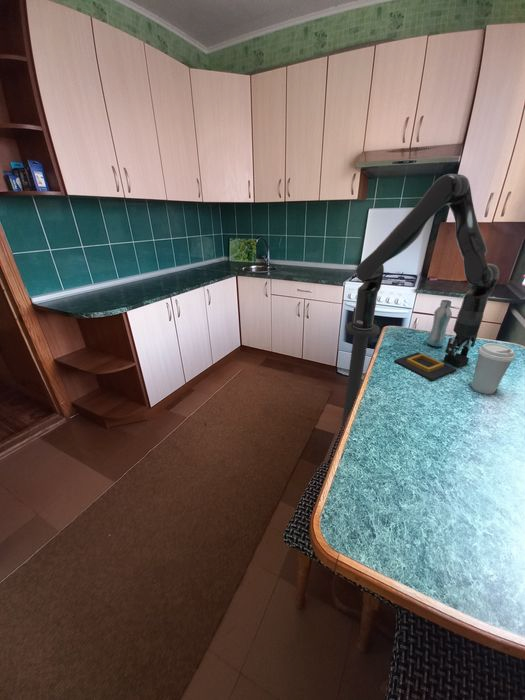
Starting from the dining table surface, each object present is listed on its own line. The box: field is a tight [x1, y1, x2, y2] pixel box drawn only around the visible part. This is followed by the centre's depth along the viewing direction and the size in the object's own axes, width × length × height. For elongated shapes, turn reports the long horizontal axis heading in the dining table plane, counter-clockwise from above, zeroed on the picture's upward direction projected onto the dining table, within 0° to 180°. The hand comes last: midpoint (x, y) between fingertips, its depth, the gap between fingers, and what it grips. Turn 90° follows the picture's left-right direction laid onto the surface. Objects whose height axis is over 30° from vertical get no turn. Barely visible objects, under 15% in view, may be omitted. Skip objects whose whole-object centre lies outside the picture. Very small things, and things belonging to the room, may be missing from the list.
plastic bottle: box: [427, 299, 453, 348], centre depth 123 cm, size 6×7×20 cm
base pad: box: [393, 352, 457, 382], centre depth 110 cm, size 16×14×2 cm
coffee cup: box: [470, 342, 516, 395], centre depth 94 cm, size 10×10×15 cm
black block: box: [442, 352, 470, 369], centre depth 113 cm, size 6×6×3 cm
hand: (456, 360), depth 112 cm, fingers open, 8 cm apart
